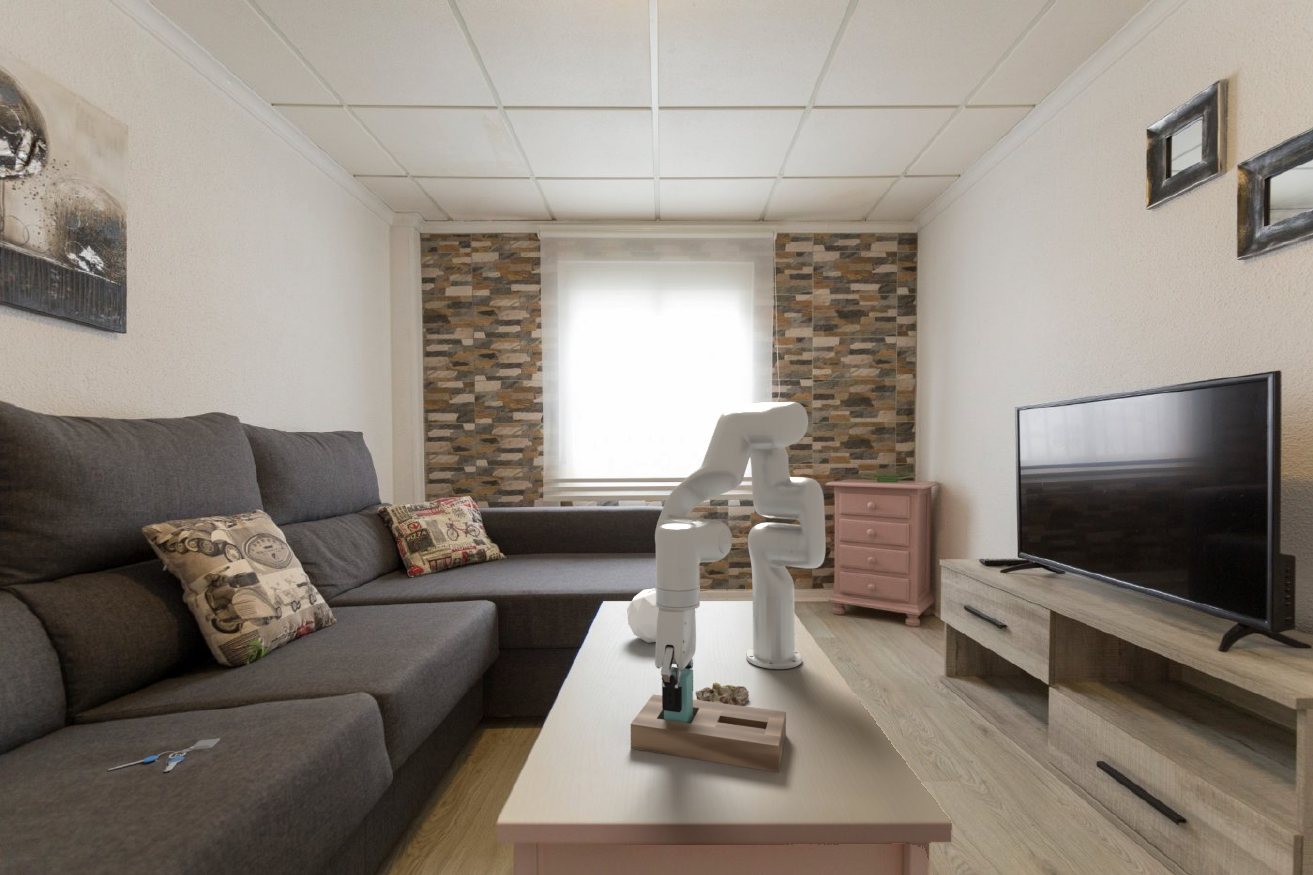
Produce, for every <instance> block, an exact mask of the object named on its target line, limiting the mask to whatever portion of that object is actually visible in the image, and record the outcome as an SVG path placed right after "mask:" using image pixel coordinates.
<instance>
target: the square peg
mask: <svg viewBox="0 0 1313 875" xmlns="http://www.w3.org/2000/svg"><path fill="white" fill-rule="evenodd" d="M676 668H677V666H676ZM671 675H674V677H675V679H676V672H671ZM679 687H682V710H681V712H672V711H665V710H664V720H669V721H676V722H683V723H690V724H691V723H692V721H693V700H694V669H693V668H692V669H685V668H684V669H683V670H681V677H680V686H679Z"/></svg>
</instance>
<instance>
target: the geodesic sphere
mask: <svg viewBox="0 0 1313 875" xmlns="http://www.w3.org/2000/svg"><path fill="white" fill-rule="evenodd" d="M658 611H659V608H658V607H657V606H656V587H655V588H648V589H643V590H641V591H640V592H639V593H637V594H636V595H635V596H634V597H633V599H632V600H631V602H630V603H629V605H628V607H627V609H626V612H627V624H628V626H629V628H630V629H631V631H632V633H633V635H634V636H636V637H637V638H639V639H641V640H642V641H644V642H646V643H647V644H649V643H650V644H651V643H656V629H657V618H658Z"/></svg>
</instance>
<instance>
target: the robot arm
mask: <svg viewBox="0 0 1313 875" xmlns="http://www.w3.org/2000/svg"><path fill="white" fill-rule="evenodd" d="M808 427H809V416H808V413H807V410H806V408H805V407H804V406H803V405H802V404H801V403H800V402H797V401H786V402H785V401H784V402H783V401H782V402H781V401H780V402H779V401H778V402H758V403H757V402H755V403H754V402H753V403H745V404H740V405H737V406H735V407H733V408H732V409H728V410H726V411H725V412H723V413H722V414H721V415H720V416H719V418H718V420H717V423H716V424H715V428H714V430H713V433H712V436H711V439H710V442H709V444H708V447H707V450H706V453H705V455H704V457H703V461H702V463H701V466H700V467H699V468H698V469H697V470H696V471H693V472H692V473H691V474H689V476H687V477H686V478H685V479H684V480H683V481H681V482H680V483H679V484H678V485H677V486H676V487H675V488H674V489H673V490H672V491H671V492H670V494H669V495H668V496H667V498H666V500H665V502H664V504H663V507H662V510H661V513H660V515H659V518H658V520H657V522H656V523H657V524H656V526H655V527H656V528H655V532H654V542H655V588H656V606H657V607H658V608H659V611H658V618H657V629H656V642H655V652H654V653H655V655H654V656H655V657H654V660H655V661H654V666H655V668H657V669H660V675H661V687H662V688H661V695H662V709H663V710H665V711H672V712H681V710H682V687H679V686H680V677H681V670H683V669H684V668H685V669H693V667H694V660H693V657H694V656H695V654H696V653H695V652H696V650H697V648H696V646H697V619H696V618H697V617H696V609H698V608H699V607H700V600H701V598H700V596H701V595H700V594H701V593H700V592H701V591H700V589H701V588H700V585H701V584H700V582H701V581H700V564H701V563H714V562H718V561H721V560H723V559H724V558H726V556H727V555H728V554H729V553H730V550H731V549H732V547H733V546H732V545H733V535H732V534H733V533H732V532H731V529H730V527H729V526H728V525H727V524H726V523H724V522H722V521H720V520H717V519H712V518H711V519H710V518H699V517H688V515H689V514H690V513H691V512H692V510H694V509H695V508H696V507H697V506H699V505H701V504H702V503H704V502H706V501H707V500H710V499H713V498H715V497H718V496H721V495H723V494H727V493H728V492H731V491H733V490H735V489H737V488H738V487H739V486H740V485H741V484H742V482H743V480H744V477H745V473H746V470H747V467H748V464H749V461H750V465H751V466H750V467H751V470H750V471H751V488H752V492H751V493H752V503H753V509H754V511H755V512H756V513H757V515H759V516H762V517H766V518H770V519H785V520H797V521H798V522H799V524H793V523H783V522H781V523H780V522H761V523H758V524H756V525H754V526H753V527H751V529H750V531H749V533H748V536H747V547H748V553H749V557H750V558H749V559H750V563H751V574H752V575H751V577H752V648H749V649H748V650H747V651H746V656H745V657H746V660H747V661H748V662H749V663H750V664H751V665H753V666H757V667H760V668H764V669H770V670H788V669H792V668H796V667H798V666H799V665H801V664H802V662H803V660H802V659H803V658H802V655H801V653H800V652H798V651H797V650H796V649H795V646H796V645H795V643H796V642H795V639H796V638H795V634H796V633H795V629H796V628H795V582H794V580H793V577H792V576H791V574H790V572H789V570H788V569H787V567H792V568H801V569H818V568H819V567H821V566H822V565H823V563H824V561H825V557H826V547H827V546H826V543H827V542H826V540H827V539H826V518H825V514H826V513H825V497H824V492H823V489H822V487H821V485H820V483H819V482H818V481H817V480H816V479H814V478H810V477H806V476H805V477H804V476H803V477H801V476H799V477H797V476H791V474H790V464H789V455H788V451H787V450H786V448H787V447H789V446H791V445H793V444H796V443H798V442H799V441H802V439H803V438H804V436H805V435H806V433H807V431H808ZM673 665H676V667H677V668H676V667H675V666H673ZM671 672H676V679H675V677H674V675H671Z"/></svg>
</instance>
